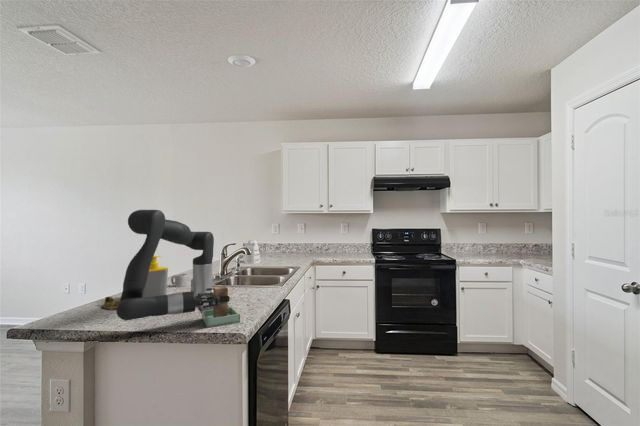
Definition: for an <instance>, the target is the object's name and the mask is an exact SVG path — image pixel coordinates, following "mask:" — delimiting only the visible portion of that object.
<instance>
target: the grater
mask: <svg viewBox="0 0 640 426" xmlns="http://www.w3.org/2000/svg"><path fill="white" fill-rule="evenodd" d="M252 241H253V242H254V244H251V242H252ZM246 248H248V249H250V251H251V252H252V254H251V255H246V254H245V256H244V264H251V265H254V264H255V265H256V264H259V263H261V261H262V260H261V255H260V254H261V253H260V247H259V245H258V241H257V240H247V245H246Z"/></svg>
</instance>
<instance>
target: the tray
mask: <svg viewBox="0 0 640 426" xmlns="http://www.w3.org/2000/svg"><path fill="white" fill-rule="evenodd" d="M201 320H202V322H203V323H204V325H205V326H206V328H207V329H208V328H213V327H218V326H219V327H220V326H227V325H232V324H237V323H241V313H239V312H238V311H237V310H236V309H235V308H234V307H233V306H229V307H228V316H223V317H217V318H213V310H206V311H202V310H201Z"/></svg>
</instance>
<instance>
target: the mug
mask: <svg viewBox="0 0 640 426" xmlns="http://www.w3.org/2000/svg"><path fill="white" fill-rule="evenodd" d="M170 282H171V284H172V285H174V287H175V288H184V287H187V286H188V273H179V274H175V275H173V276H171V279H170Z"/></svg>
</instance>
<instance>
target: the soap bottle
mask: <svg viewBox="0 0 640 426" xmlns="http://www.w3.org/2000/svg"><path fill="white" fill-rule="evenodd" d="M157 258H162V256H161V255H154V256H153V259H152V261H151V265H150V268H149V273H148V277H147V282H146V286H145V289H144V291H143V298H145V297H154V296H160V295H167V292H168V291H167V290H168V289H167V288H168V273H169V267H168V266H167V267H166V266H159V262H157Z"/></svg>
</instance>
